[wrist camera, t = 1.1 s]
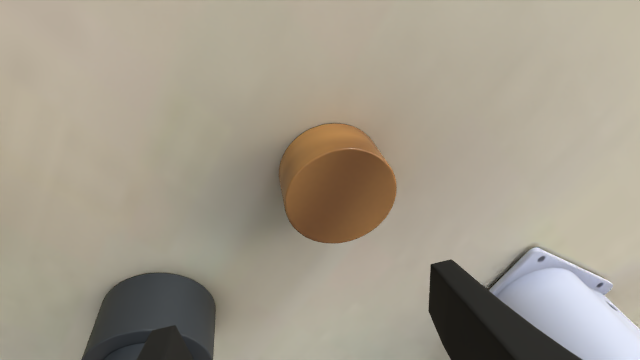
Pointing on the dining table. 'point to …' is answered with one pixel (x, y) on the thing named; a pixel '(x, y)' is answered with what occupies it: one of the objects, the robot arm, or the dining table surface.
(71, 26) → the dining table surface
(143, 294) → the dark grey cylinder
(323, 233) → the orange brown short cylinder
